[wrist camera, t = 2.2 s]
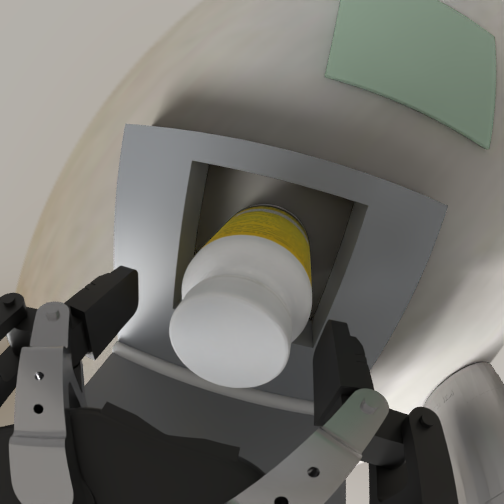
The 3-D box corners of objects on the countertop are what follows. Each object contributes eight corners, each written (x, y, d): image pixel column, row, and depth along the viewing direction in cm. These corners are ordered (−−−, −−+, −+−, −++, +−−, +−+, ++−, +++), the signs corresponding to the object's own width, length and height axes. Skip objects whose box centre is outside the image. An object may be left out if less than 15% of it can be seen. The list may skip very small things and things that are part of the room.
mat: (491, 38, 8) (494, 37, 8) (485, 149, 12) (489, 149, 12) (346, -32, 9) (346, -36, 9) (324, 77, 13) (325, 74, 12)
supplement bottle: (222, 201, 17) (136, 261, 8) (311, 204, 16) (327, 275, 7) (225, 280, 19) (165, 387, 10) (305, 286, 18) (304, 407, 9)
